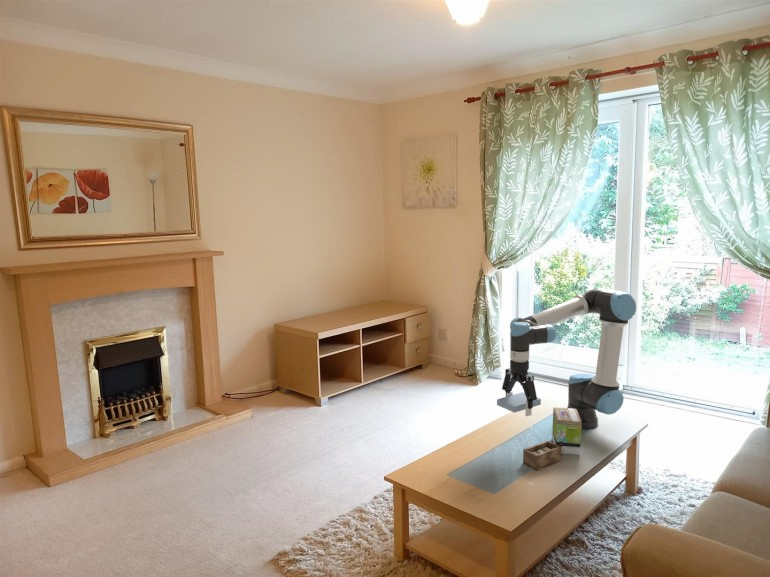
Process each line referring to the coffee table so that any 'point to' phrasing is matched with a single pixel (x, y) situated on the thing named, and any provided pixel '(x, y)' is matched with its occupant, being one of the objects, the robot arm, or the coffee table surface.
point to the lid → (516, 402)
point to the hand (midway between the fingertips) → (518, 411)
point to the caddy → (541, 455)
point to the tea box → (567, 430)
